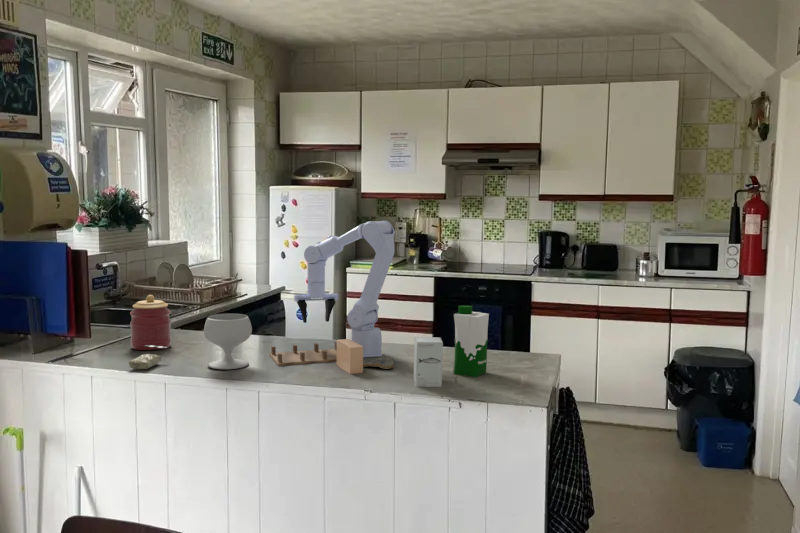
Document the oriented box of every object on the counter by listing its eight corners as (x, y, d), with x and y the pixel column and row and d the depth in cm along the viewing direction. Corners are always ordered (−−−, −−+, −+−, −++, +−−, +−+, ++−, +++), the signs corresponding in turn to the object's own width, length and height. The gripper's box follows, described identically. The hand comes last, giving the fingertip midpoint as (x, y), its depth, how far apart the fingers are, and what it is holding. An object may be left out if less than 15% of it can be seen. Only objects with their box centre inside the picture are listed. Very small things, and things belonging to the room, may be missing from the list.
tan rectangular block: (348, 364, 213) (349, 338, 212) (362, 373, 202) (363, 346, 201) (336, 365, 211) (336, 339, 210) (349, 374, 200) (350, 347, 199)
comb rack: (338, 350, 231) (338, 341, 231) (350, 360, 217) (351, 350, 217) (269, 355, 223) (269, 345, 223) (277, 366, 209) (277, 355, 209)
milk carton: (463, 369, 208) (464, 303, 206) (490, 373, 204) (492, 306, 202) (449, 375, 201) (451, 307, 199) (477, 379, 196) (479, 310, 194)
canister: (179, 345, 235) (178, 294, 234) (147, 352, 224) (146, 298, 223) (154, 341, 242) (153, 291, 241) (122, 347, 231) (121, 295, 230)
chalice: (213, 359, 216) (212, 312, 214) (257, 360, 215) (257, 313, 214) (197, 370, 202) (196, 320, 200) (244, 372, 201) (244, 321, 200)
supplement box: (415, 387, 187) (416, 341, 186) (413, 380, 195) (414, 336, 193) (442, 387, 188) (443, 341, 186) (439, 380, 195) (440, 336, 194)
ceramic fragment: (388, 366, 202) (360, 357, 207) (387, 376, 203) (358, 367, 208) (406, 360, 212) (378, 351, 216) (404, 369, 212) (377, 361, 217)
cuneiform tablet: (168, 347, 213) (149, 356, 201) (167, 361, 213) (148, 371, 201) (146, 344, 214) (126, 354, 202) (146, 359, 214) (126, 368, 202)
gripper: (334, 279, 237) (333, 318, 238) (292, 280, 232) (292, 320, 233) (339, 282, 230) (339, 322, 232) (296, 283, 225) (296, 324, 227)
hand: (316, 321), depth 232 cm, fingers open, 7 cm apart
